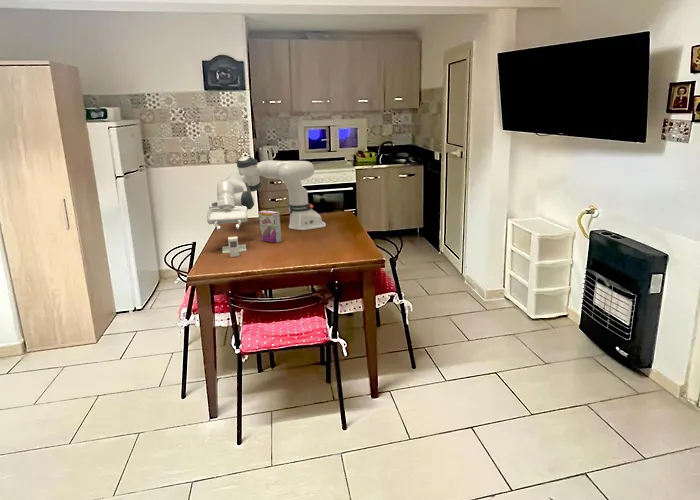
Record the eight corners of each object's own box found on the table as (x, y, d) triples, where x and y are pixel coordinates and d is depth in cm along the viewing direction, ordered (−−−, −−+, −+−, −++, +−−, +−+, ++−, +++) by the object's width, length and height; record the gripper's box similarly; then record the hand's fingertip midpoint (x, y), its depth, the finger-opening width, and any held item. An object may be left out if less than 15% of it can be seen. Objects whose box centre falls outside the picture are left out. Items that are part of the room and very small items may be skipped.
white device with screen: (239, 253, 246) (237, 236, 243) (239, 256, 242) (237, 238, 239) (230, 254, 245) (228, 237, 242) (230, 257, 241) (228, 239, 238)
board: (245, 245, 260) (245, 244, 260) (246, 251, 249) (246, 250, 249) (222, 247, 258) (222, 246, 258) (222, 253, 247) (222, 252, 246)
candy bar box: (260, 241, 267) (257, 211, 262) (266, 238, 271) (263, 210, 266) (276, 243, 262) (273, 213, 257) (282, 241, 266) (279, 211, 261)
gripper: (247, 209, 258) (249, 231, 251) (207, 211, 253) (208, 233, 247) (246, 202, 252) (249, 224, 246) (206, 204, 248) (207, 227, 241)
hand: (228, 229), depth 246 cm, fingers open, 8 cm apart
